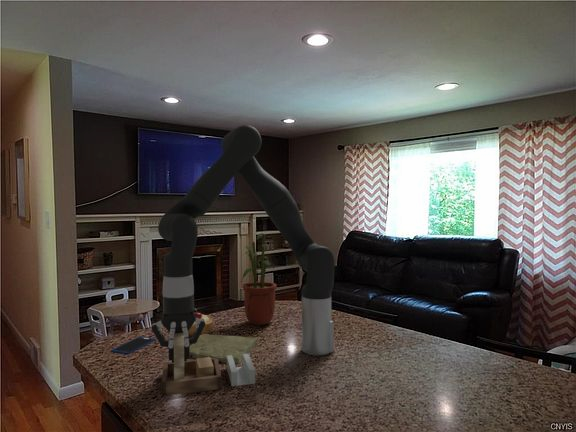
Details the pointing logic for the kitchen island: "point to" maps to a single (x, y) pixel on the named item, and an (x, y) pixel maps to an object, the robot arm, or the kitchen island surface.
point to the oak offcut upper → (204, 367)
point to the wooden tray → (189, 379)
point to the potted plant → (259, 290)
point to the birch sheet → (178, 356)
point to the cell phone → (133, 345)
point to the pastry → (206, 328)
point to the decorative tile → (222, 347)
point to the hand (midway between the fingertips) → (179, 360)
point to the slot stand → (241, 371)
